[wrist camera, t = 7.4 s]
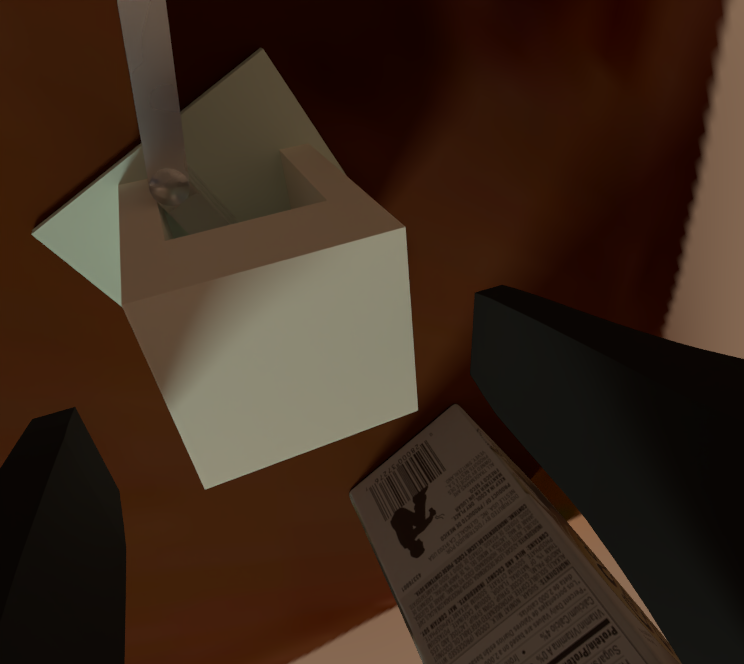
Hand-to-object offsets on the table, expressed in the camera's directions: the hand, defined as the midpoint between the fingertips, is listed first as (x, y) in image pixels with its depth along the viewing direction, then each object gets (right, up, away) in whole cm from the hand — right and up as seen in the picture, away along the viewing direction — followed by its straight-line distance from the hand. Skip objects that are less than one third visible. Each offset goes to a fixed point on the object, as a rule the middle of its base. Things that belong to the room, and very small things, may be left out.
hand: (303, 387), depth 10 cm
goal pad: (-2, +4, +5) cm, 7 cm away
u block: (-2, +3, +5) cm, 7 cm away
